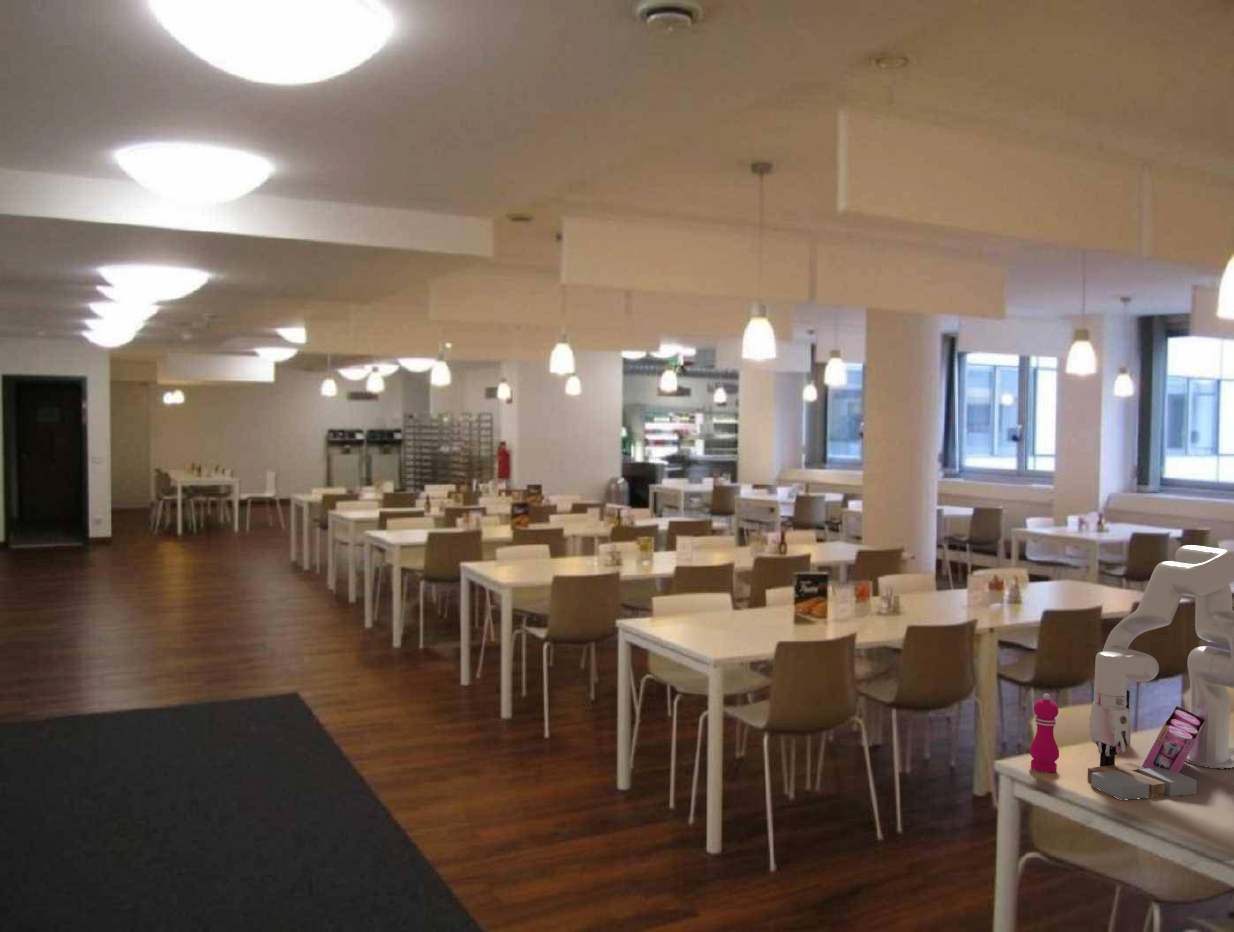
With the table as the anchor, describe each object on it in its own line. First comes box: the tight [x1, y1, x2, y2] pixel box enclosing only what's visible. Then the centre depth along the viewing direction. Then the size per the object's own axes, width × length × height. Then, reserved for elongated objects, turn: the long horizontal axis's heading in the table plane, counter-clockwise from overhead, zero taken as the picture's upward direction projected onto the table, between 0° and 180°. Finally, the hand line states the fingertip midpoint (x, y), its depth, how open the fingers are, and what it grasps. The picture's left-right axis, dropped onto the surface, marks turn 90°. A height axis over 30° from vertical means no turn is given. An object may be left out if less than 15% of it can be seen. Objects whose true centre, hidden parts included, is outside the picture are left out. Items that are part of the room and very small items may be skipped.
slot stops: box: [1090, 768, 1198, 801], centre depth 246 cm, size 22×10×4 cm, turn 106°
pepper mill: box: [1029, 693, 1060, 773], centre depth 260 cm, size 7×7×20 cm
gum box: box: [1141, 705, 1206, 773], centre depth 260 cm, size 24×8×14 cm, turn 143°
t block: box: [1087, 762, 1166, 797], centre depth 249 cm, size 15×14×3 cm
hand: (1107, 769), depth 257 cm, fingers closed
